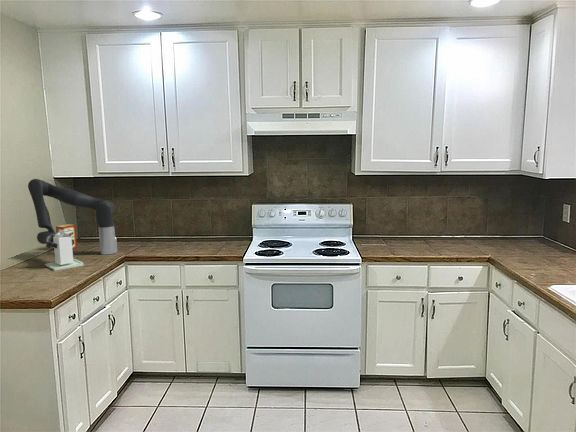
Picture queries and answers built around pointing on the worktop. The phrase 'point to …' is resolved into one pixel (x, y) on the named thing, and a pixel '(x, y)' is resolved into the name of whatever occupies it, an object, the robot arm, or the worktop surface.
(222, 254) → the worktop surface
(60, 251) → the milk carton
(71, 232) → the baking soda box
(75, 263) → the tray
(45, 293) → the worktop surface
